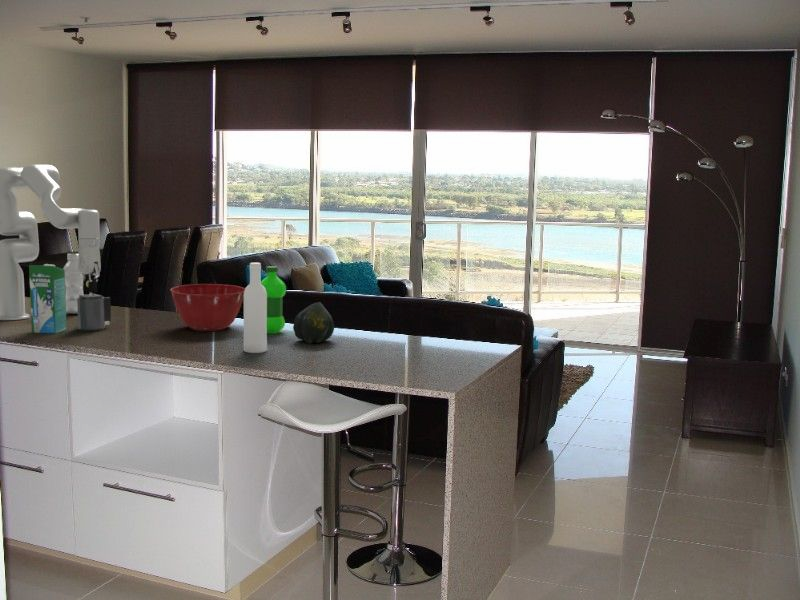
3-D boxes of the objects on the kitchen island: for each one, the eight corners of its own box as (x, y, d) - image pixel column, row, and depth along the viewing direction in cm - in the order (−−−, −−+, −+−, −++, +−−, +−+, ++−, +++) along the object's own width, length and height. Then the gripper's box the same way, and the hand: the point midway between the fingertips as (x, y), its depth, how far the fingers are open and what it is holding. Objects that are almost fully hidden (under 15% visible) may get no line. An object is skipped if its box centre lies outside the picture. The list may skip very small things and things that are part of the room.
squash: (286, 330, 306) (315, 298, 306) (285, 324, 320) (312, 294, 321) (316, 356, 308) (345, 325, 309) (314, 350, 323) (341, 320, 323)
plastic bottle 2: (253, 333, 328) (253, 267, 325) (266, 329, 338) (266, 264, 335) (278, 335, 325) (278, 268, 322) (289, 331, 335) (290, 266, 332)
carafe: (74, 328, 330) (73, 295, 328) (104, 325, 338) (103, 292, 336) (85, 332, 323) (84, 297, 321) (115, 328, 331) (115, 295, 330)
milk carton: (66, 329, 328) (64, 263, 324) (55, 333, 319) (52, 265, 315) (43, 328, 328) (41, 262, 325) (31, 332, 319) (28, 264, 316)
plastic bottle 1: (89, 314, 363) (87, 254, 360) (70, 316, 357) (68, 255, 353) (79, 311, 369) (78, 252, 365) (60, 313, 362) (58, 253, 359)
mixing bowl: (258, 330, 334) (258, 290, 332) (186, 337, 318) (186, 295, 316) (228, 319, 357) (228, 282, 355) (160, 325, 341) (159, 286, 339)
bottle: (256, 354, 291) (256, 264, 287) (238, 351, 295) (238, 263, 291) (271, 350, 298) (272, 263, 294) (254, 347, 302) (254, 261, 298)
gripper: (70, 241, 328) (71, 290, 331) (89, 244, 317) (90, 295, 319) (89, 240, 333) (90, 288, 336) (109, 244, 322) (110, 293, 324)
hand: (90, 291), depth 328 cm, fingers closed on plunger, 3 cm apart
